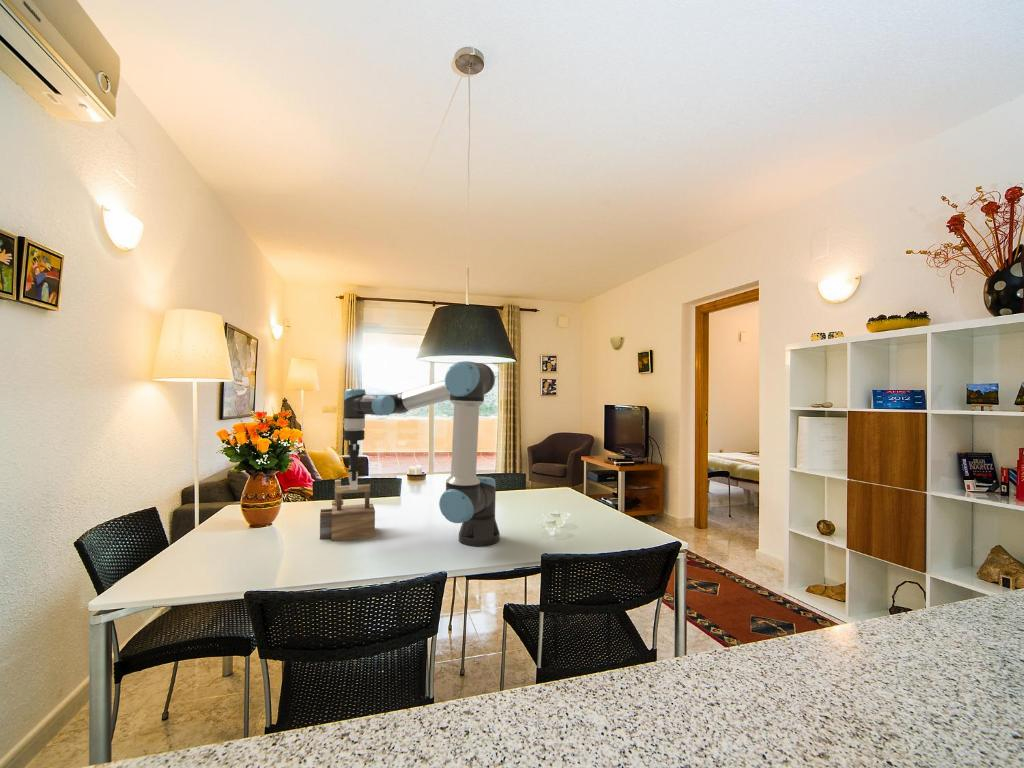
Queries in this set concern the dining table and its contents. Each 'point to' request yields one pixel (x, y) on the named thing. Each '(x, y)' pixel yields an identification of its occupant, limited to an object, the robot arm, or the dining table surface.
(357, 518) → the toolbox
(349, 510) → the lid
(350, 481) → the robot arm
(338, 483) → the key peg
